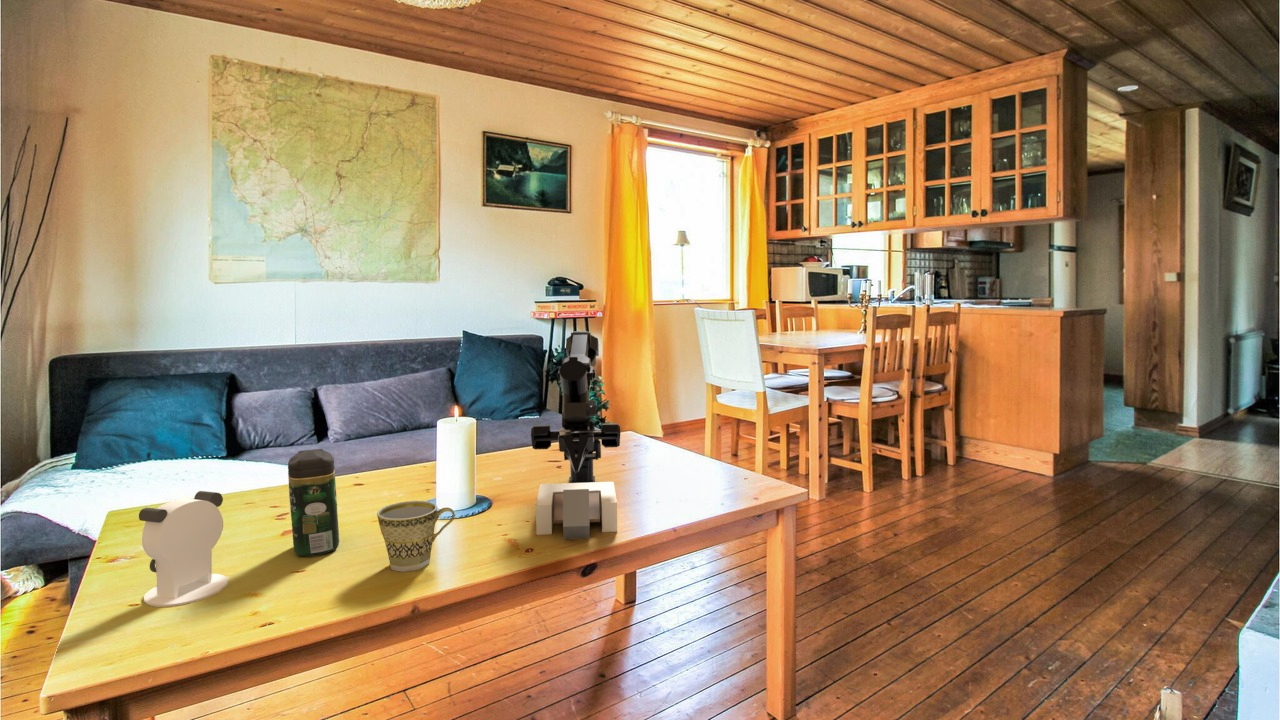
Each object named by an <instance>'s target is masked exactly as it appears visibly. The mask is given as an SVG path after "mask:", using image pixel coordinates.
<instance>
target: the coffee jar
mask: <svg viewBox="0 0 1280 720" xmlns="http://www.w3.org/2000/svg"><path fill="white" fill-rule="evenodd" d="M287 463H288V464H287V469H288V470H287V471H288V472H287V473H288V474H287V475H288V476H287V477H288V492H289V494H288V497H289V508H290V518H291V531H292V543H293V551H294V553H295V554H296V556H300V557H301V556H302V557H303V556H304V557H317V556H321V555H324V554H326V553H329V552H333V551H335V550H336V549H338V547H339V545H340V544H339V543H340V530H339V519H338V518H339V517H338V501H337V500H338V499H337V489H336V488H337V485H336V472H335V471H336V470H335V457H334V456H333V455H332V453H331V452H328V451H326V450H324V449H323V448H316V449H307V450H299V451H298V452H297V453H296V454H294V455H293V456H291V457H290V458H289V460H288V462H287Z"/></svg>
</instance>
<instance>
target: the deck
mask: <svg viewBox="0 0 1280 720" xmlns="http://www.w3.org/2000/svg"><path fill="white" fill-rule="evenodd" d="M539 484H540V485H539V489H538V493H537V498H536V502H535V503H536V504H535V527H536V528H535V531H536V535H537V536H543V535H552V534H553V528H554V500H555V493H563V490H573V489H589V492H594V491H599V505H600V522H601V532H602V533H615V532H617V533H618V500H617V496H616V488H615V482H614V481H598V482H597V481H595V482H589V483H569V482H568V483H567V482H565V483H564V482H563V483H539Z"/></svg>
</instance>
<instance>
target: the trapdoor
mask: <svg viewBox="0 0 1280 720" xmlns="http://www.w3.org/2000/svg"><path fill="white" fill-rule="evenodd" d="M589 521H590V523H600V522H601V518H600V505H599V491H594V492H589ZM554 524H563V493H555V500H554V521H553V525H554Z"/></svg>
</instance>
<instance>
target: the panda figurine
mask: <svg viewBox="0 0 1280 720" xmlns="http://www.w3.org/2000/svg"><path fill="white" fill-rule="evenodd" d="M223 498H224V497H223V496H222V494H221V493H220V492H214V491H204V490H199V491H198V492H196V493H195V495H194V499H193V498H179V499H173V500H171V501H168V502H166V503H163V504H162V505H159V506H158V507H156V508H154V507H144V508H142V509H141V510H140V511H139V513H138V520H139V521H142V522H144V525H143V529H142V535H141V545H142V548H143V550H144V552H145V554H146V555H147V556H148V557H149V558H151V560H150V562H149V570H150V571H151V572H153V573H155V574H156V585H155V586H154V587H153V588H151V589H149V590H148V591H147V592H146V593H145V594H144V595H143V602H144V603H145V604H146V605H148V606H150V607H151V606H152V607H157V608H158V607H159V608H161V607H163V608H165V607H166V608H167V607H175V606H182V605H186V604H190V603H195V602H198V601H202V600H204V599H207V598H210V597H212V596H214V595H217V594H218V593H219V592H221V591H223V590H224V589H225V588H226V587H227V586H228V584H229V579H228V577H227V576H225V575H223V574H220V573H212V572H213V571H212V569H213V568H212V567H213V564H212V563H213V560H212V557H213V554H212V553H213V549H214V547H215V546H216V545H217V543H218V541H219V540H220V538H221V535H222V532H223V530H224V518H223V516H222V513H221V511H220V510H219V507H221V505H222V504H223V501H224V499H223Z"/></svg>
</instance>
